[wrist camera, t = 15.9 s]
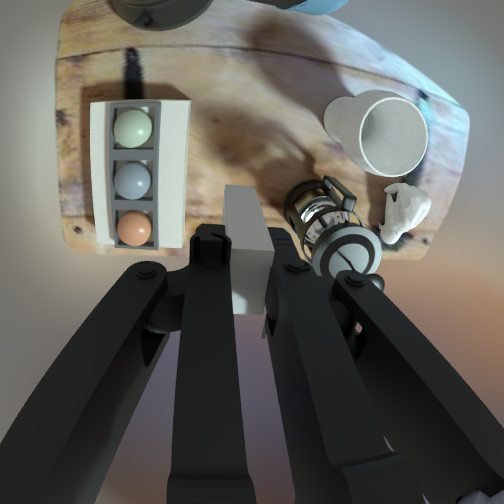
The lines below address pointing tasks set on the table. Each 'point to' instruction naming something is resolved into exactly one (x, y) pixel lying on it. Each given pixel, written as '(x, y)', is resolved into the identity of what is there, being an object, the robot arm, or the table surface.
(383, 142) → the cup
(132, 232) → the button terracotta
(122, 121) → the button sage
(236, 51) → the table surface
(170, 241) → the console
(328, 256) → the french press
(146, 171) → the button slate
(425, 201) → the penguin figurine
